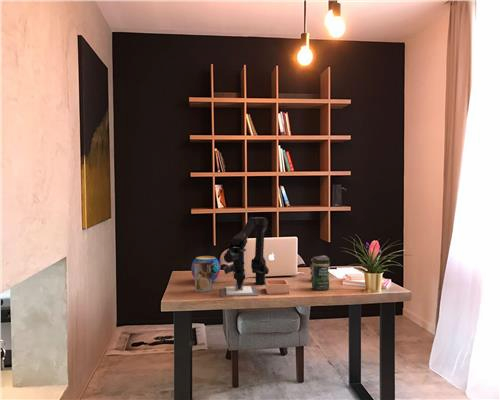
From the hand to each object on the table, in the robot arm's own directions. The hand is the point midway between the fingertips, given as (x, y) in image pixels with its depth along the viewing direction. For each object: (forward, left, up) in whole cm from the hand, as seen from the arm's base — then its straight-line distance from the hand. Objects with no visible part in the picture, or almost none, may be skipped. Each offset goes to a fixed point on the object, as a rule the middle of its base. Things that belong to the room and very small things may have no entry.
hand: (239, 288), depth 233 cm
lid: (0, 0, -2) cm, 2 cm away
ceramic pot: (-10, -30, -2) cm, 32 cm away
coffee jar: (-29, +37, -2) cm, 47 cm away
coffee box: (+7, -19, -2) cm, 21 cm away
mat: (0, 0, -2) cm, 2 cm away
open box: (-12, +17, -2) cm, 21 cm away
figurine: (-48, +29, -2) cm, 56 cm away
